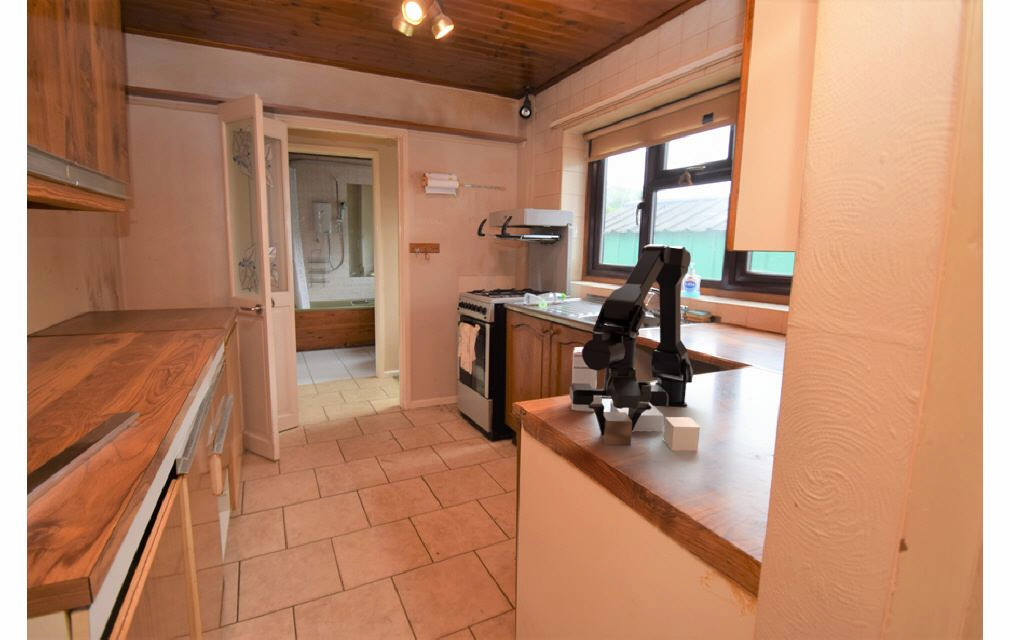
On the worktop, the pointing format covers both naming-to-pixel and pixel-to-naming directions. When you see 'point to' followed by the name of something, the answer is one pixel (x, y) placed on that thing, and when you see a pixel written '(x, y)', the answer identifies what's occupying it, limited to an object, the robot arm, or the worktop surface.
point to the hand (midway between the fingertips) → (615, 435)
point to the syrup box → (582, 376)
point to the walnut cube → (617, 428)
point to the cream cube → (681, 433)
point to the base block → (645, 419)
